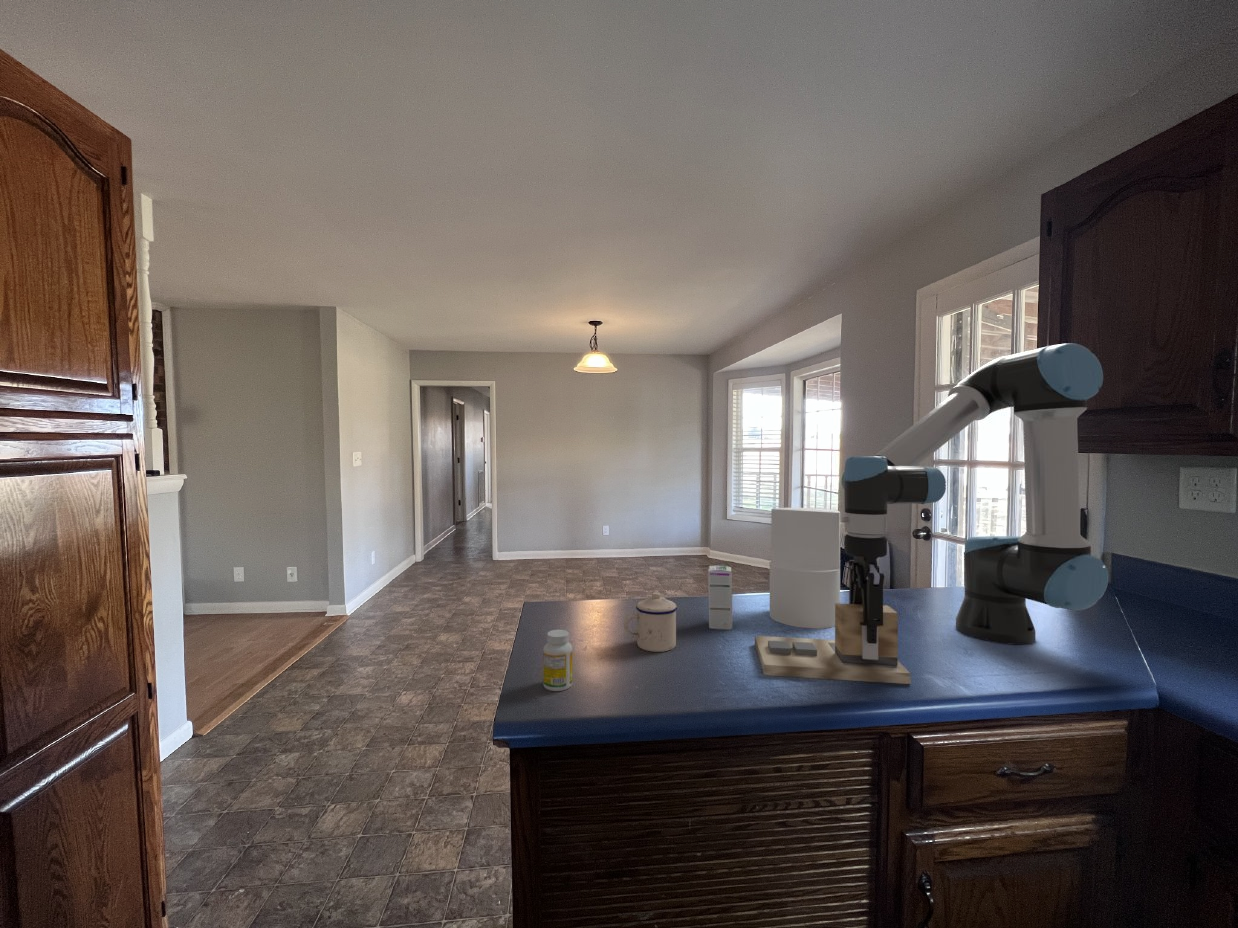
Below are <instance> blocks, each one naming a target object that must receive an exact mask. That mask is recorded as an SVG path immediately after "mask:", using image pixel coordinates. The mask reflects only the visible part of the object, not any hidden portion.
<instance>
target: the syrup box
mask: <svg viewBox="0 0 1238 928" xmlns="http://www.w3.org/2000/svg"><path fill="white" fill-rule="evenodd" d="M707 570H708V571H707V580H708V581H707V583H708V584H707V587H708V590H707V591H708V597H707V599H708V628H709V629H712V630H724V631H733V581H732V579H733V578H732V567H731V566H729V565H709V567H708V569H707Z"/></svg>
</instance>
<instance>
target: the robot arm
mask: <svg viewBox="0 0 1238 928" xmlns="http://www.w3.org/2000/svg"><path fill="white" fill-rule="evenodd" d="M1103 372H1104V370H1103V368H1102V364H1101V362H1100V361H1099V359H1098V357H1097V356H1096V354H1094V353H1092V351H1091V350H1090V349H1089V348H1087V347H1085V346H1083V345H1081V344H1080V343H1079V344H1078V343H1074V342H1069V343H1061V344H1053V345H1046V346H1044V347H1039V348H1036V349H1031V350H1026V351H1023V352H1018V353H1014V354H1009V355H1005V356H1000V357H998V358H995V359H993V360H991V361H989V362H987V363H986V364H984V365H983V366H981V367H979V368H978V369H977V370H976V369H975V371H973V372H972V373H971V374H969V375H967V376H966V377H965V378H964V379H962V380H961V381H960V382H958V383H957V384H956V385H955V386H953V387H952V388H950V390H949V391H948V392H947V393H948V394H947V397H946V398H945V399H944V400H943V401H941V403H939V404H937V406H935V407H934V408H933V409H932V410H930V411H928V413H927V414H925V415H924V416H922V417H921V418H920V419H919V420H918V421H916V422H915V423H914V424H913V425H912V426H910V427H909V428H908V429H907V430H905V431H904V432H903V433H901V434H900V435H899V436H897V437H896V438H895V439H894V440H892V441H891V442H890V443H888V444H887V445H886V446H884V447H883V448H882V449H881V450H880V451H879V452H877V453H876V454H875V455H874V456H873V455H872V456H871V455H869V456H863V455H862V456H858V455H857V456H854V455H853V456H848V458H846V459H845V462H844V464H845V465H844V472H843V473H842V476H841V487H842V488H843V490H844V517H843V516H842V518H841V522H842V523H844V532H846V534H845V535H844V539H843V542H844V544H843V545H844V547H843V550H844V551H843V552H844V553H845V554H847V555H849V556H853V559H848V568H849V575H848V576H849V581H848V582H849V583H848V584H849V585H848V586H849V593H848V594H849V597H848V599H849V600H848V601H849V602H848V604H863V617H864V622H860V625H862V658H863V659H872V660H878V626H883V605H884V582H885V574H884V572H883V573H882V572H880V566H879V565H878V558H884V557H886V556H887V554H888V538H887V537H886V536H884V535H886V534H888V505H893V504H895V505H896V504H897V505H904V504H906V505H910V504H916V505H917V504H918V505H920V504H921V505H925V504H933V503H936V502H939V501H940V500H941V499H943V497H944V496H945V493H946V491H947V490H946V489H947V485H946V483H947V480H946V478H945V475H944V474H943V472H942V471H941V470H940V469H938V468H937V467H934V466H929V465H927V466H926V465H920V464H921V463H923V461H926V460H927V458H929V457H930V456H931V455H932V454H934V453H935V452H936V451H937V450H939V449H941V447H942V446H944V445H946V444H947V443H948V442H949V441H951V439H953V438H954V437H956V436H957V435H958V434H959V433H960V432H961V431H962V430H964V429H965V428H967V427H968V426H969V425H970V424H972V423H973V422H974V421H981V420H984V419H986V417H988V416H989V415H990V414H992V413H994V412H997V411H1000V410H1004V409H1007V408H1013V415H1015V416H1016V417H1018V419H1019V420H1021V422H1022V426H1023V460H1024V461H1023V463H1024V464H1023V465H1024V493H1025V494H1024V495H1025V525H1026V526H1025V529H1026V530H1025V533H1024V534H1023V535H1021V536H1013V535H1011V536H1010V535H1008V536H1006V535H1004V536H1003V535H1002V536H1001V535H1000V536H999V535H997V536H995V535H994V536H993V535H992V536H991V535H990V536H987V535H986V536H971V537H969V538H967V539H966V540H965V542H964V552H963V565H964V567H963V568H964V569H963V571H964V572H963V574H964V576H963V577H964V597H963V600H962V603H961V605H960V607H959V609H958V612H957V615H956V616H955V628H956V630H957V631H959V632H961V633H963V634H965V635H967V636H970V637H972V638H976V639H978V640H979V639H980V640H984V641H989V642H993V643H1000V644H1007V645H1008V644H1009V645H1027V644H1032V643H1035V642H1036V629H1035V626H1034V623H1033V621H1032V618H1031V616H1030V612H1029V610H1028V608H1027V603H1026V600H1030V601H1034V602H1037V603H1040V604H1043V605H1047V606H1049V607H1052V608H1055V609H1063V610H1067V611H1074V612H1076V611H1077V612H1079V611H1083V610H1087V609H1089V608H1091V607H1093V606H1094V605H1096V603H1098V601H1099V600H1100V599H1102V597H1103V596H1104V594H1105V592H1106V590H1107V587H1108V584H1109V570H1108V567H1107V566H1106V565H1105V563H1104V562H1103V560H1101V559H1100V558H1098V557H1096V556H1095V555H1092V547H1091V546H1092V545H1091V543H1090V542H1089V541H1088V540H1087V539H1086V538H1084V537H1083V536H1082V535H1081V519H1080V518H1081V517H1080V516H1081V514H1080V508H1081V507H1080V480H1079V479H1080V478H1079V477H1080V476H1079V441H1078V438H1079V437H1078V434H1079V433H1078V418H1079V417H1080V416H1081V415H1082V414H1083V413H1084V412H1085V411H1086V410H1088V404H1087V403H1088V400H1089V399H1091V398H1093V397H1094V396H1096V395H1097V394H1098V393H1099V391H1100V389H1101V387H1102V386H1103V383H1104V373H1103Z"/></svg>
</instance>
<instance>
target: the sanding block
mask: <svg viewBox="0 0 1238 928" xmlns="http://www.w3.org/2000/svg"><path fill="white" fill-rule="evenodd" d="M860 622H864V617H863V604H849V603H841V602H840V603H835V626H834V640H835V653H836V654H837V656H838V657H839V659H840V660H841V662H848V663H864V664H881V665H897V666H898V661H899V660H898V657H899V656H898V653H899V652H898V651H899V650H898V647H899V645H898V641H899V639H898V637H899V636H898V634H899V633H898V631H899V627H898V626H899V624H898V622H899V613H898V612H897V611H895V609H893V608H892V607H891V606H889V605H886V604H885V605H884V604H883V626H878V660H872V659H863V658H862V625H860Z"/></svg>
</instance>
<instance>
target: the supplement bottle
mask: <svg viewBox="0 0 1238 928" xmlns="http://www.w3.org/2000/svg"><path fill="white" fill-rule="evenodd" d="M569 640H570V633H569V631H567V630H565V629H552V630H550V631H548V632H547V633H546V641H547V643H546V644H545V645H543V649H542V650H543V653H542V654H543V655H542V656H543V657H542V661H543V662H542V663H543V665H542V669H543V670H542V674H543V675H542V677H543V682H542V683H543V688H544V689H546V690H548V691H551V692H560V691H561V692H562V691H566V690H567V689H569V688H570V687H572V686H573V645H572V644H571V643H570V642H569Z"/></svg>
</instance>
